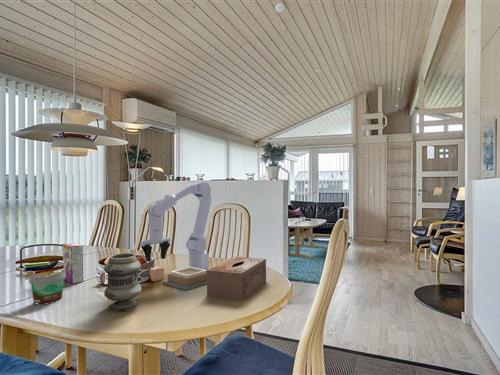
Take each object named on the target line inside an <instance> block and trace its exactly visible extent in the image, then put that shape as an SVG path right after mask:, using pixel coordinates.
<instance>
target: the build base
mask: <svg viewBox="0 0 500 375" xmlns="http://www.w3.org/2000/svg"><path fill="white" fill-rule="evenodd" d="M162 284H164V285H168V286H170V287H174V288H176V289H180V290H182V291H183V290H184V291H189V290H193V289H196V288H199V287H202V286H207V270H204V269H199V268H195V267H189V266H187V267H184V268H179V269H175V270H171V271H170V272H168V273H167V279H165V280H164V279H163V280H162Z"/></svg>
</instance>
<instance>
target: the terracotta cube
mask: <svg viewBox="0 0 500 375" xmlns="http://www.w3.org/2000/svg"><path fill="white" fill-rule="evenodd" d="M150 268H151V269H150V276H151V280H150V281H152V282H156V281H161V280H162V281H163V280H164V279H165V268H164V267H162V266H153V268H152V267H150Z"/></svg>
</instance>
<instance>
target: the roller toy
mask: <svg viewBox="0 0 500 375" xmlns="http://www.w3.org/2000/svg"><path fill="white" fill-rule="evenodd" d="M104 282H105V272H103V271H102V272H101V273H100V274H99V283H100V284H101V283H103V284H102V285H105V284H104Z"/></svg>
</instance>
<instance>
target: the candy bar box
mask: <svg viewBox="0 0 500 375" xmlns="http://www.w3.org/2000/svg"><path fill="white" fill-rule="evenodd" d="M83 248H84V247H83V245H82V244H80V243H76V242H67V243H66V242H65V243H62V261H63V267H62V268H63V270H64V272H65V275H66V277H65V278H64V281H66V282H68V283H70V284H72V285H76V284H78V283H84V255H83V254H84V253H83V252H84V250H83ZM75 283H76V284H75Z"/></svg>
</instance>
